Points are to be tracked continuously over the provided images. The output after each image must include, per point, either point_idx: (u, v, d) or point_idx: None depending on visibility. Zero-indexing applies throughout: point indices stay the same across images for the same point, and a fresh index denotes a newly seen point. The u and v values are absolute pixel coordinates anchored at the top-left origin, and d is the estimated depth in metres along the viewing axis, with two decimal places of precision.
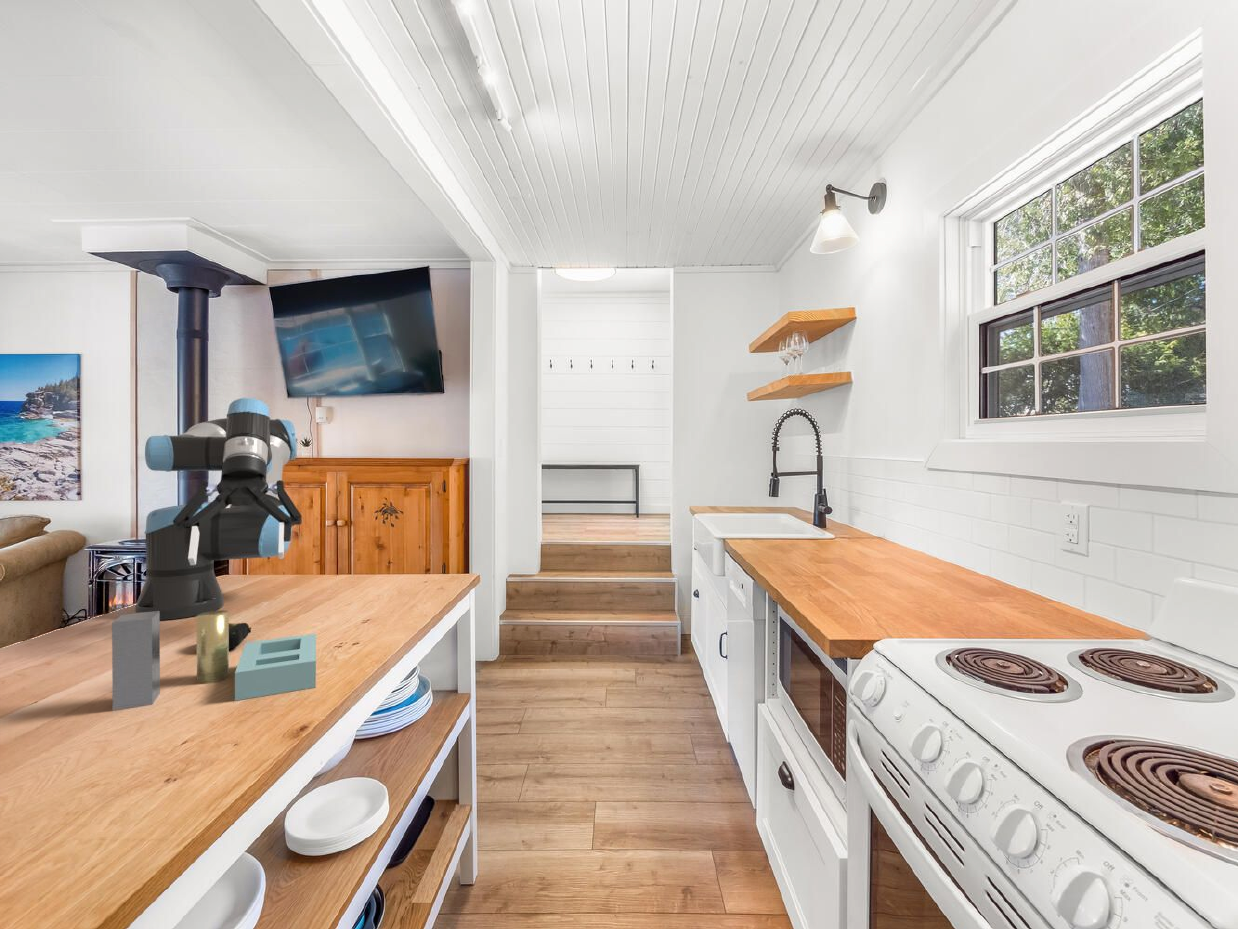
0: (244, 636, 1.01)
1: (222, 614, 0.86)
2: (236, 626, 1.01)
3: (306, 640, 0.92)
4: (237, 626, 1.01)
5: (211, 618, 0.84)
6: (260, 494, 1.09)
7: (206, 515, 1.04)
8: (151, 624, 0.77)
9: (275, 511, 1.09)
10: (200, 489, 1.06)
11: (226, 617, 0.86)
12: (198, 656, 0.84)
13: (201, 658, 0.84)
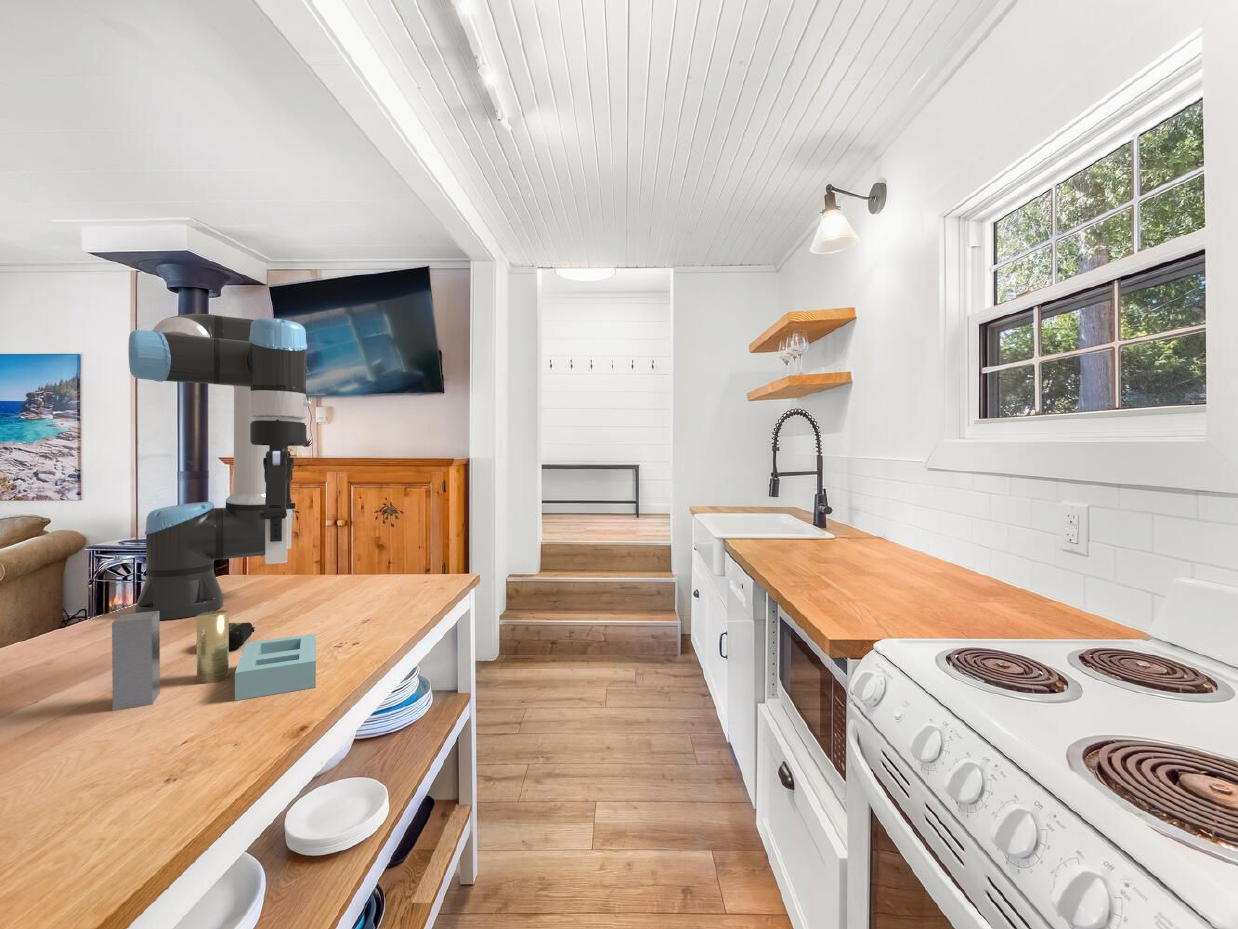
0: (248, 636, 1.02)
1: (222, 614, 0.86)
2: (240, 626, 1.01)
3: (306, 640, 0.92)
4: (241, 626, 1.01)
5: (211, 618, 0.84)
6: (292, 473, 0.91)
7: None
8: (151, 624, 0.77)
9: (289, 495, 0.93)
10: (286, 464, 0.82)
11: (226, 617, 0.86)
12: (198, 656, 0.84)
13: (201, 658, 0.84)
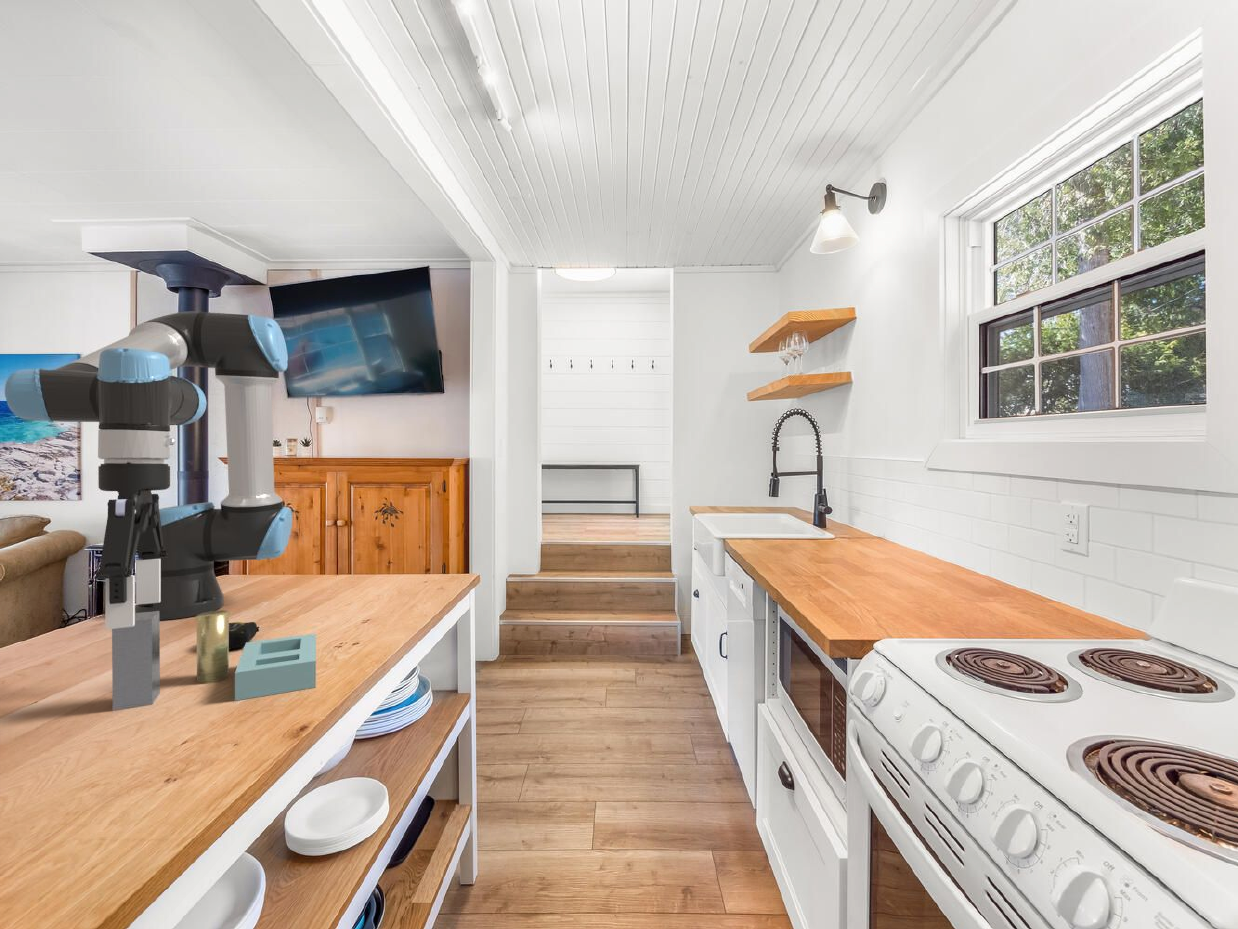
0: (252, 635, 1.02)
1: (222, 614, 0.86)
2: (244, 625, 1.01)
3: (306, 640, 0.92)
4: (245, 625, 1.01)
5: (211, 618, 0.84)
6: (156, 519, 0.81)
7: None
8: (151, 624, 0.77)
9: (156, 542, 0.83)
10: (132, 514, 0.72)
11: (226, 617, 0.86)
12: (198, 656, 0.84)
13: (201, 658, 0.84)
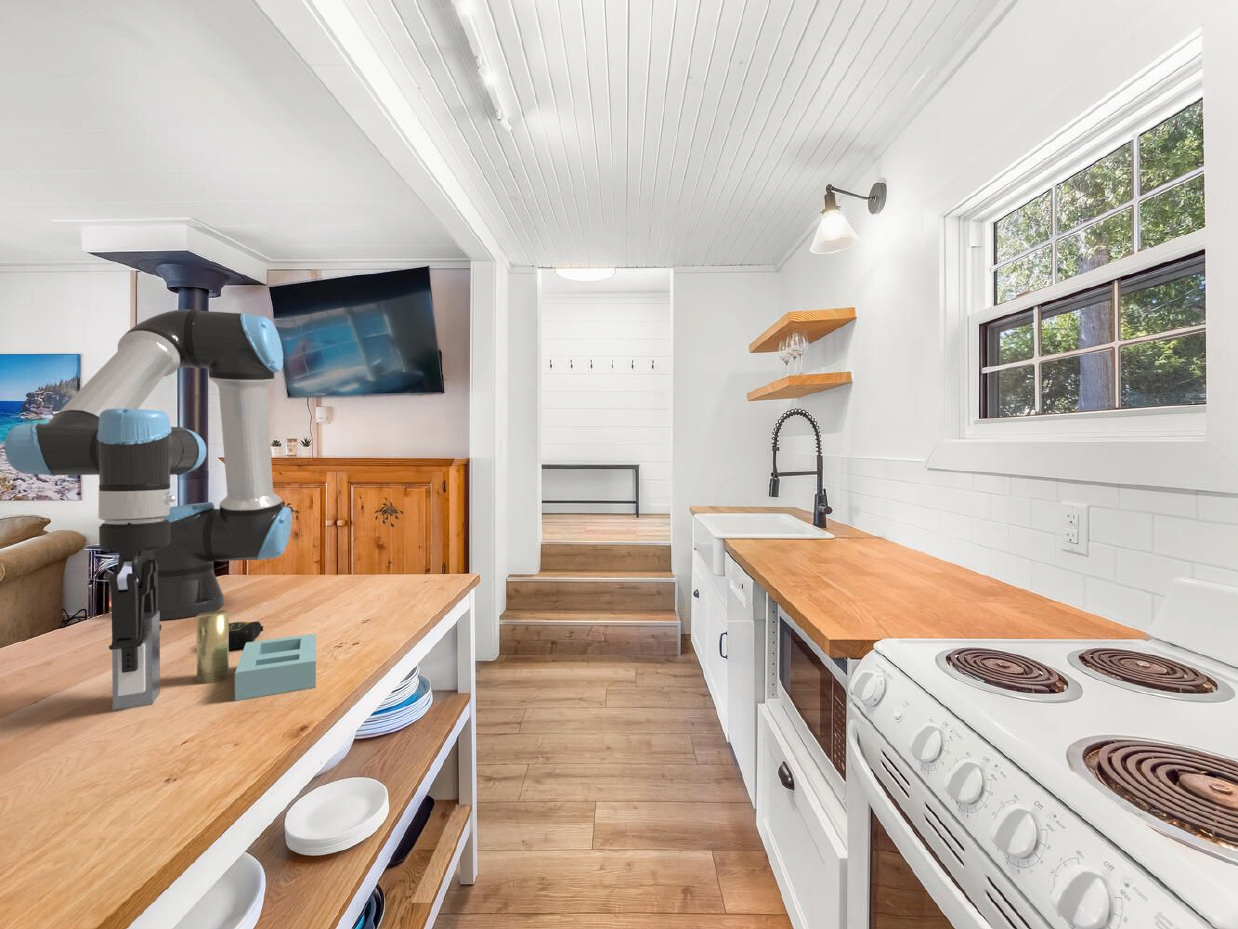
0: (257, 635, 1.02)
1: (222, 614, 0.86)
2: (249, 625, 1.01)
3: (306, 640, 0.92)
4: (250, 625, 1.01)
5: (211, 618, 0.84)
6: (155, 580, 0.80)
7: None
8: (151, 624, 0.77)
9: None
10: (135, 587, 0.73)
11: (226, 617, 0.86)
12: (198, 656, 0.84)
13: (201, 658, 0.84)
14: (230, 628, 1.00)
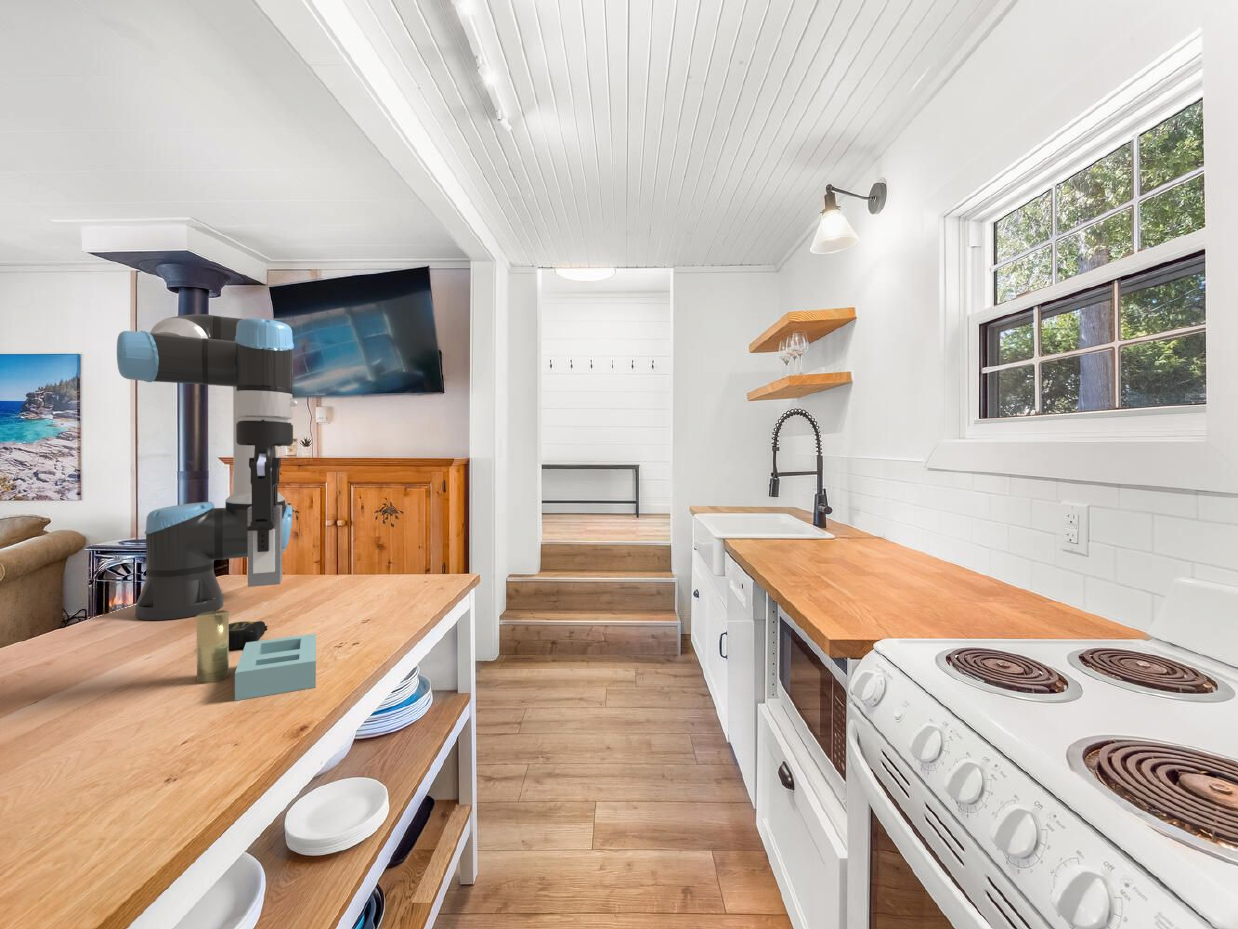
0: (261, 634, 1.03)
1: (222, 614, 0.86)
2: (253, 624, 1.02)
3: (306, 640, 0.92)
4: (254, 624, 1.02)
5: (211, 618, 0.84)
6: None
7: None
8: (279, 512, 0.86)
9: None
10: (270, 474, 0.83)
11: (226, 617, 0.86)
12: (198, 656, 0.84)
13: (201, 658, 0.84)
14: (235, 627, 1.00)
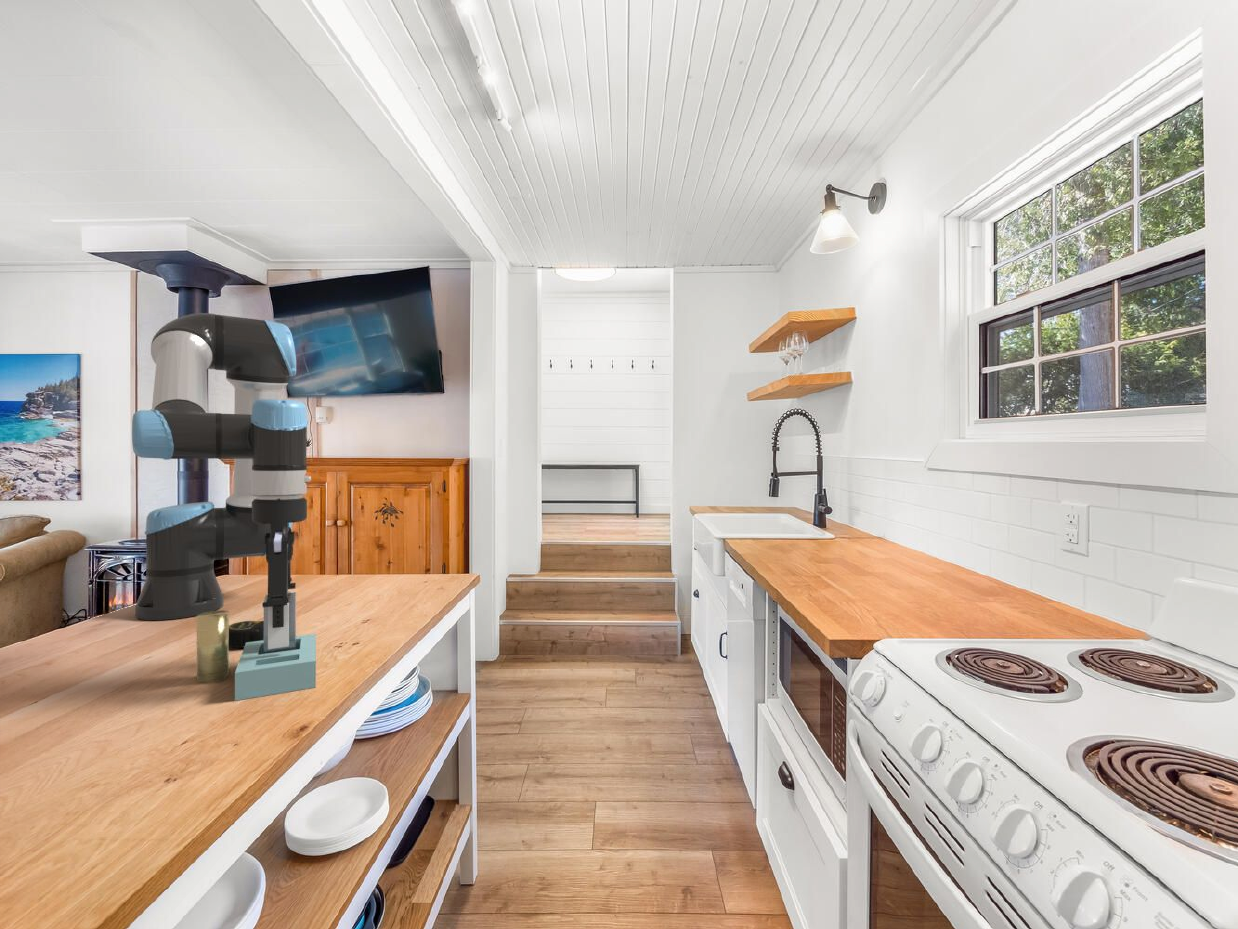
0: None
1: (222, 614, 0.86)
2: (259, 623, 1.02)
3: (306, 640, 0.92)
4: (260, 623, 1.02)
5: (211, 618, 0.84)
6: (292, 549, 0.92)
7: None
8: (294, 603, 0.88)
9: (289, 573, 0.93)
10: (287, 550, 0.84)
11: (226, 617, 0.86)
12: (198, 656, 0.84)
13: (201, 658, 0.84)
14: (241, 627, 1.00)
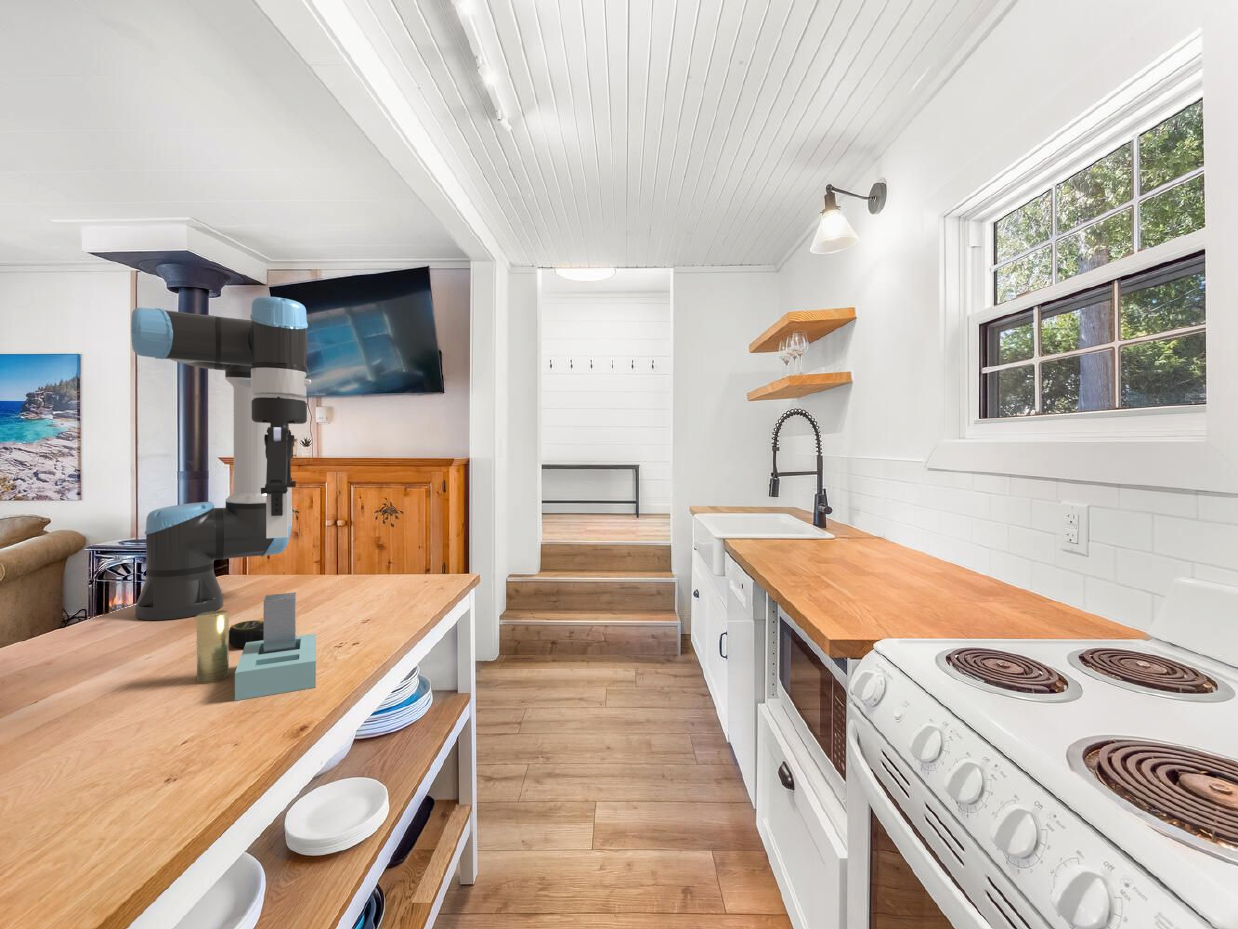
0: None
1: (222, 614, 0.86)
2: (263, 623, 1.02)
3: (306, 640, 0.92)
4: None
5: (211, 618, 0.84)
6: (292, 451, 0.92)
7: None
8: (294, 603, 0.88)
9: (290, 473, 0.94)
10: (286, 440, 0.83)
11: (226, 617, 0.86)
12: (198, 656, 0.84)
13: (201, 658, 0.84)
14: (245, 626, 1.00)
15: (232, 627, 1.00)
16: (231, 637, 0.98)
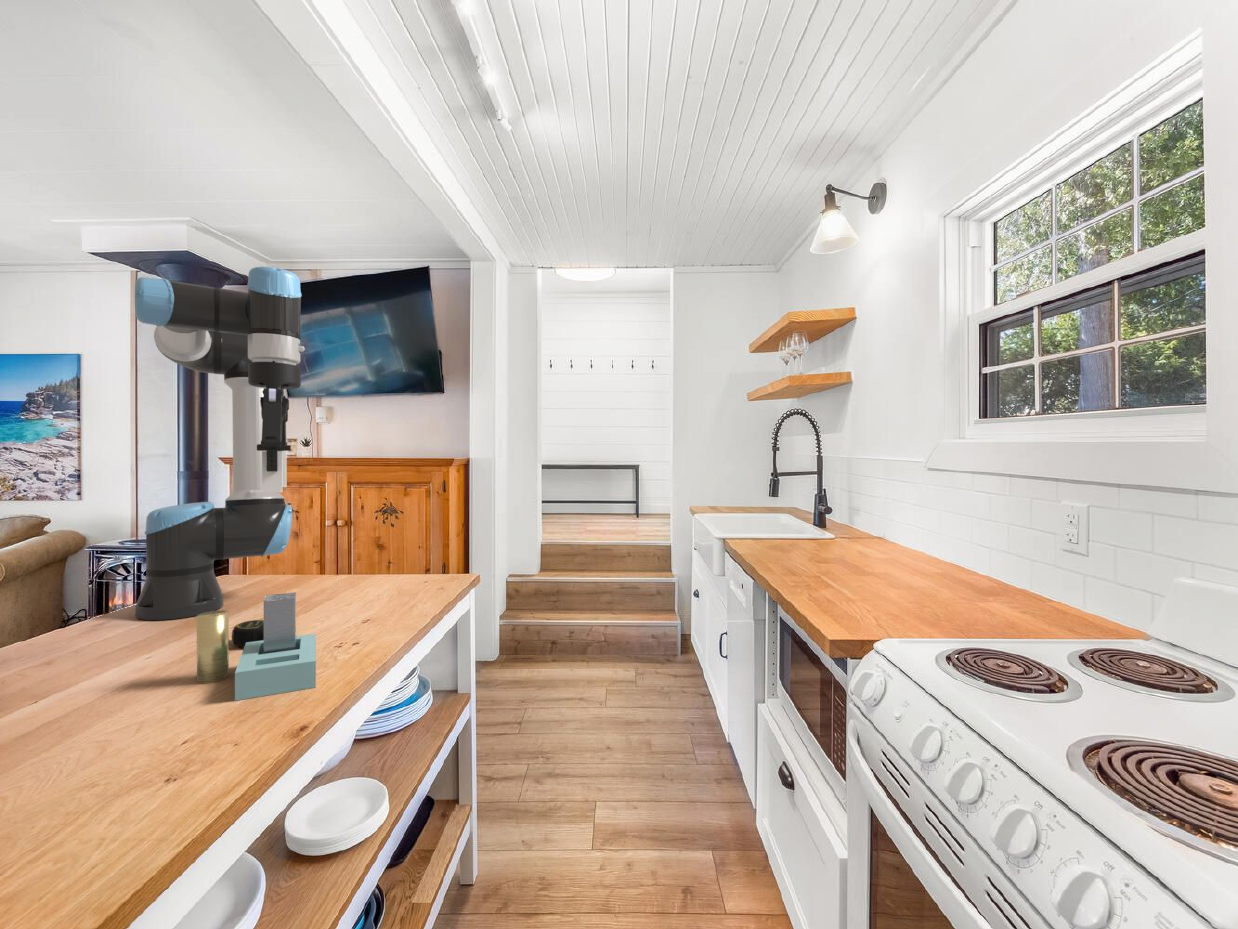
0: None
1: (222, 614, 0.86)
2: None
3: (306, 640, 0.92)
4: None
5: (211, 618, 0.84)
6: (287, 415, 0.97)
7: None
8: (294, 603, 0.88)
9: (285, 436, 0.99)
10: (281, 401, 0.88)
11: (226, 617, 0.86)
12: (198, 656, 0.84)
13: (201, 658, 0.84)
14: (249, 626, 1.01)
15: (236, 626, 1.00)
16: (235, 636, 0.99)
